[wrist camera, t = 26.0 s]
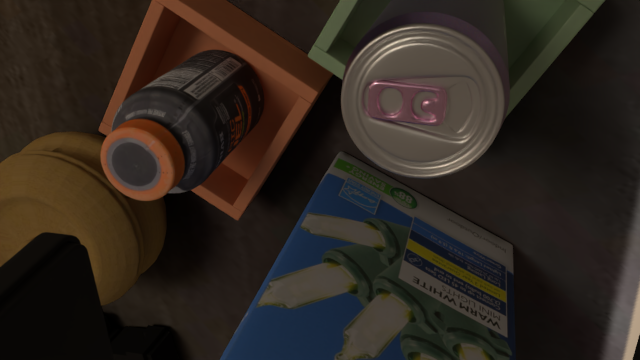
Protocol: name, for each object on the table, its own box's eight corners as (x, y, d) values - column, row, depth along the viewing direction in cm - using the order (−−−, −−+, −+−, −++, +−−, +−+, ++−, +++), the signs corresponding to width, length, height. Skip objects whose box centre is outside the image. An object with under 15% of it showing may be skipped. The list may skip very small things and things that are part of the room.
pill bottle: (256, 147, 41) (182, 236, 31) (175, 119, 41) (76, 198, 32) (275, 64, 38) (198, 134, 28) (186, 34, 38) (82, 93, 29)
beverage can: (399, -46, 33) (338, 11, 20) (513, -39, 32) (525, 27, 19) (390, 61, 36) (331, 172, 23) (495, 72, 35) (495, 195, 22)
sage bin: (426, -132, 31) (418, -132, 28) (594, -16, 32) (607, -2, 29) (324, 38, 37) (306, 56, 33) (469, 135, 37) (467, 163, 34)
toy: (58, 366, 59) (191, 387, 54) (30, 393, 56) (168, 419, 51) (29, 297, 56) (167, 312, 50) (-2, 322, 53) (142, 342, 47)
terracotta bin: (188, -26, 37) (157, -15, 34) (334, 72, 38) (318, 92, 34) (129, 108, 42) (97, 130, 39) (258, 192, 43) (237, 221, 40)
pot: (64, 245, 50) (-26, 325, 41) (27, 109, 45) (-84, 168, 36) (197, 260, 47) (130, 349, 39) (174, 117, 42) (92, 183, 33)
